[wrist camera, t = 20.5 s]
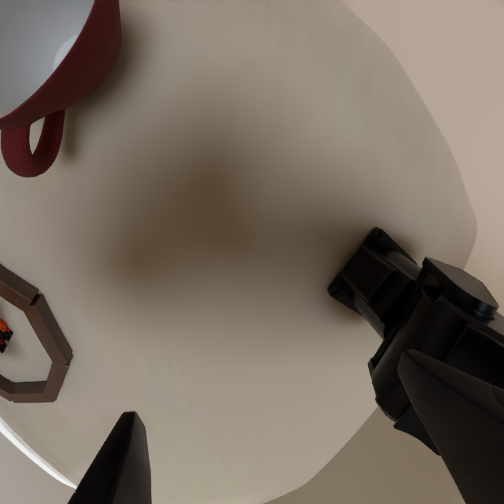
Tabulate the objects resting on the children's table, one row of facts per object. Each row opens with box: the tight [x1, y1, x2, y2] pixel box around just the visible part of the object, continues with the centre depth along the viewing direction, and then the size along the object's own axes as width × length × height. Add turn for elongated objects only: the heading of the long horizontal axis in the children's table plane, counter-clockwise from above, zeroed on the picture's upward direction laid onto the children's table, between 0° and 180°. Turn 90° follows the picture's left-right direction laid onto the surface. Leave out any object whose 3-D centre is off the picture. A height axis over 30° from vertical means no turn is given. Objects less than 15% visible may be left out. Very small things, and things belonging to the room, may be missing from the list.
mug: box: [0, 0, 121, 177], centre depth 10 cm, size 10×8×10 cm
